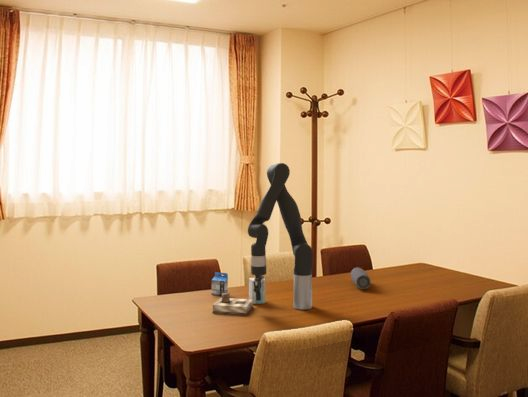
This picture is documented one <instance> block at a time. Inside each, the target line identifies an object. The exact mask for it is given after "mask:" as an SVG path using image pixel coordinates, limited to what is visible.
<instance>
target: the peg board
mask: <svg viewBox="0 0 528 397" xmlns="http://www.w3.org/2000/svg"><path fill="white" fill-rule="evenodd" d="M230 295H231V294H230V292H228V293H222V296H221V297H220V298H219V299H218V300H216V302H214V303H213V304H212V313H213V314H224V315H241V316H247V315H248V314H249V312H250V311H251V310H252V309H253V308H254V306H253V305H254V304H253V300H252V299H249V298H233V297H232V298H231V296H230Z"/></svg>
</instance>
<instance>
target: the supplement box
mask: <svg viewBox="0 0 528 397" xmlns="http://www.w3.org/2000/svg"><path fill="white" fill-rule="evenodd" d="M254 278H255V277H249V278H248V299H252V300H253V305H257V303H255V290H254ZM263 286H264V287H263V303H262V304H266V279H265V278H264V285H263Z"/></svg>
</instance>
